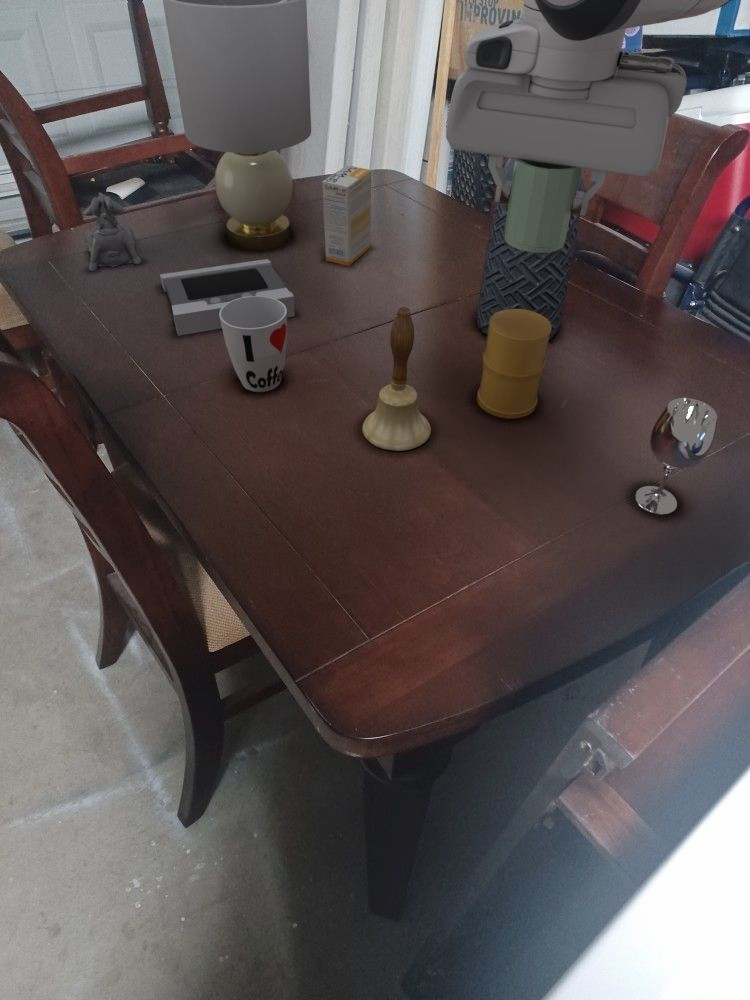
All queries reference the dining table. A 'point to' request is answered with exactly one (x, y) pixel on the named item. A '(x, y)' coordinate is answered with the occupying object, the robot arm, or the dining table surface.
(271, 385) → the cup
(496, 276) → the vase
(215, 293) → the alarm clock
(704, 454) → the wineglass
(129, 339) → the dining table surface
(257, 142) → the lamp
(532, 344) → the cup stack
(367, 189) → the supplement box
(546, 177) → the sage cup
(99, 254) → the figurine
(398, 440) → the hand bell
